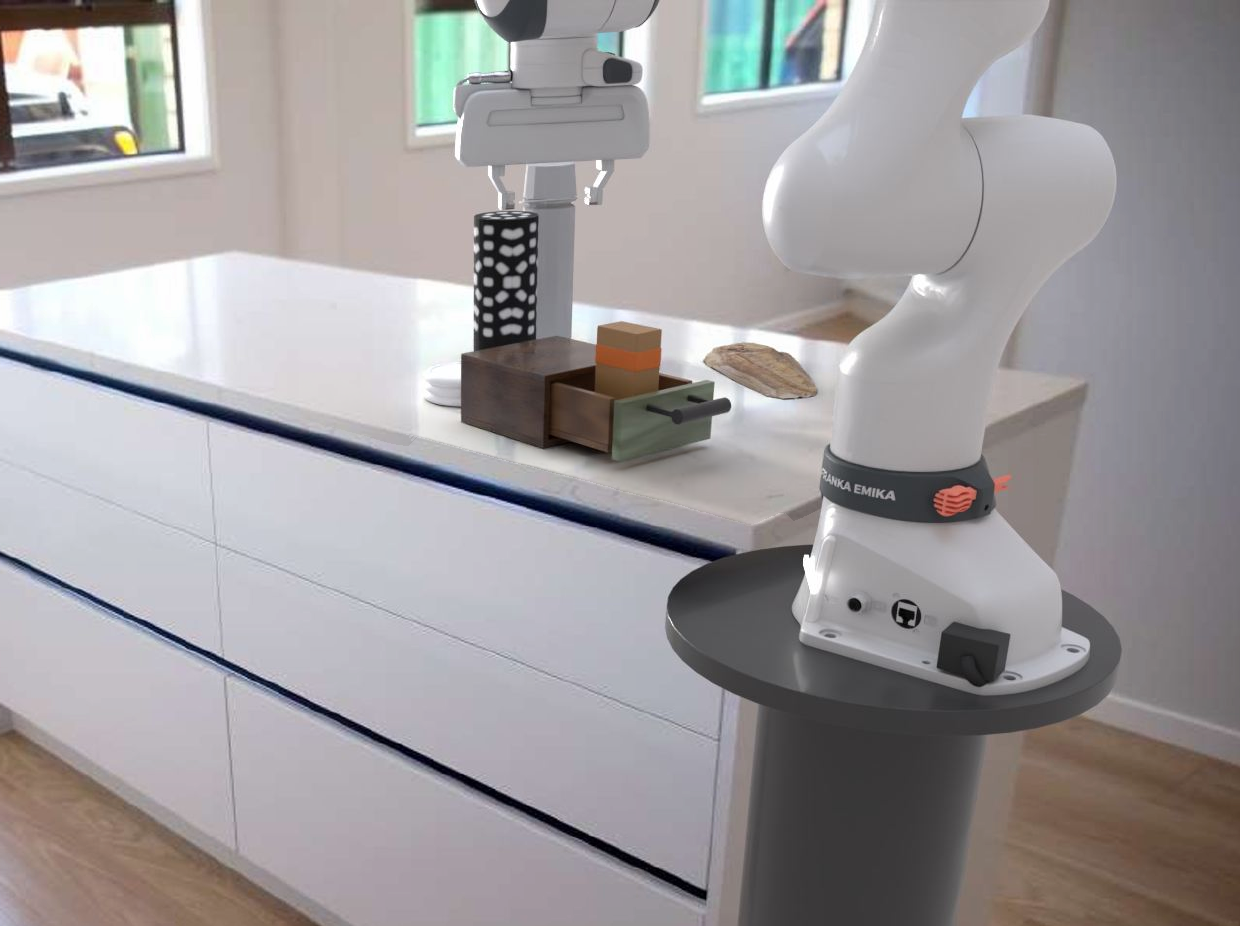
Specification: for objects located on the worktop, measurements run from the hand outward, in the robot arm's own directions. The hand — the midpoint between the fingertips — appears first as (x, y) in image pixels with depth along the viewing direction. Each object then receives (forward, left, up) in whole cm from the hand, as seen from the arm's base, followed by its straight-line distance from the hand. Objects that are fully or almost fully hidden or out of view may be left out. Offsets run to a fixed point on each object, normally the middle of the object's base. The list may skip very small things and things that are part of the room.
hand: (550, 207), depth 151 cm
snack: (-10, -3, -23) cm, 25 cm away
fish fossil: (+3, -39, -25) cm, 46 cm away
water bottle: (+35, -30, -25) cm, 52 cm away
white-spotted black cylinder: (+28, -17, -25) cm, 41 cm away
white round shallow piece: (+19, -3, -25) cm, 31 cm away
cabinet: (+3, -3, -25) cm, 25 cm away
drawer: (-12, -3, -24) cm, 27 cm away
